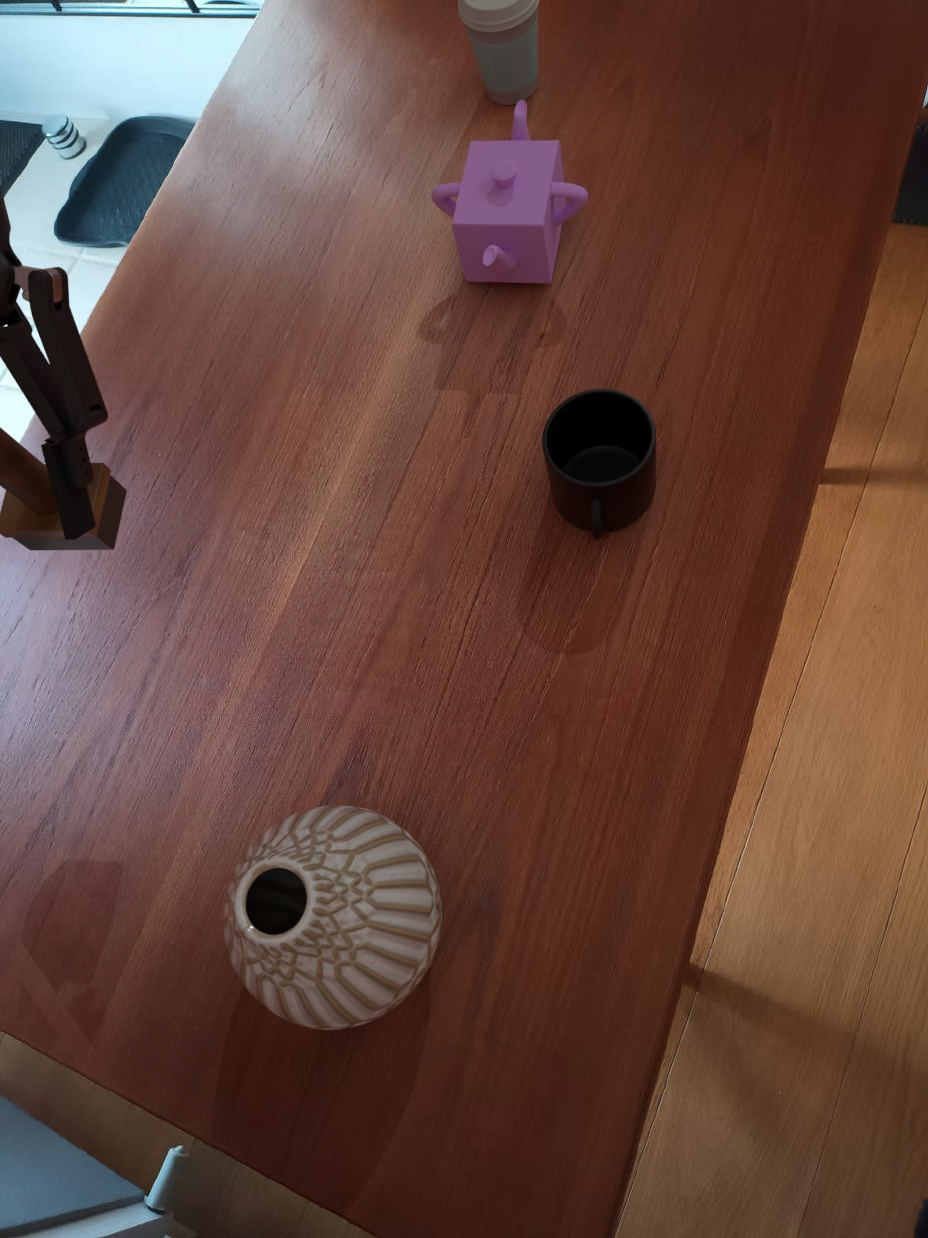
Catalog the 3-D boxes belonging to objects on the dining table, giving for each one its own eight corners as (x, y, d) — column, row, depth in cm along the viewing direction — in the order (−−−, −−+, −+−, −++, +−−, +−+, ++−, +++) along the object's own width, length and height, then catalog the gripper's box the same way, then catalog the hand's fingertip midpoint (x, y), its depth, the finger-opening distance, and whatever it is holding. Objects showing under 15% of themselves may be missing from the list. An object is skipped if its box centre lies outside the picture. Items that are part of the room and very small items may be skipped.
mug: (546, 559, 86) (535, 514, 78) (555, 442, 90) (545, 388, 82) (652, 561, 84) (652, 515, 76) (657, 442, 88) (657, 386, 80)
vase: (499, 920, 76) (451, 900, 57) (355, 1072, 74) (257, 1102, 55) (369, 782, 82) (288, 724, 63) (232, 919, 80) (107, 900, 61)
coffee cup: (516, 46, 109) (500, -59, 98) (565, 81, 106) (555, -24, 95) (459, 90, 108) (437, -11, 97) (507, 126, 105) (491, 26, 94)
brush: (27, 553, 72) (-115, 456, 59) (43, 489, 74) (-91, 381, 61) (116, 552, 71) (-8, 453, 57) (130, 487, 72) (13, 376, 59)
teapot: (614, 263, 96) (609, 179, 86) (501, 332, 96) (483, 256, 86) (534, 174, 102) (521, 86, 92) (428, 238, 102) (403, 157, 92)
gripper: (114, 157, 58) (186, 514, 68) (-168, 185, 62) (-63, 518, 72) (44, 155, 52) (135, 551, 61) (-267, 186, 56) (-137, 553, 65)
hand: (28, 533), depth 66 cm, fingers closed on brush, 7 cm apart
